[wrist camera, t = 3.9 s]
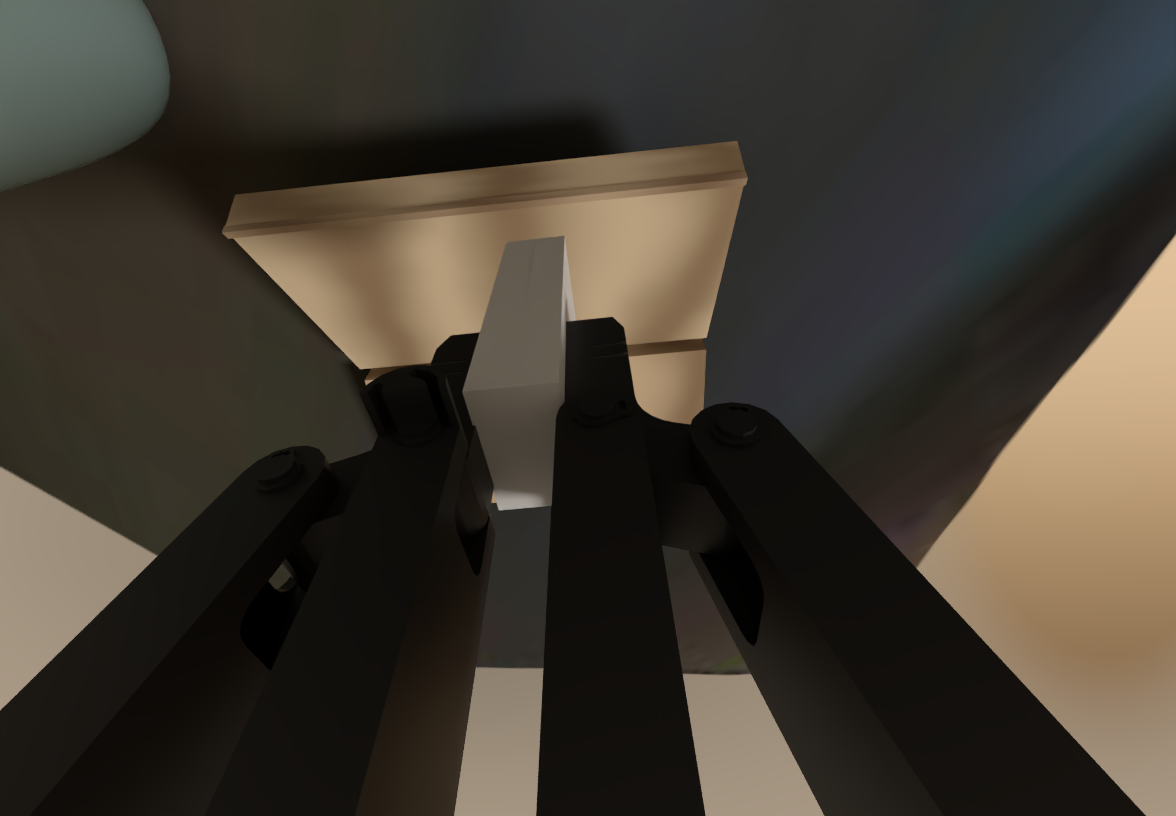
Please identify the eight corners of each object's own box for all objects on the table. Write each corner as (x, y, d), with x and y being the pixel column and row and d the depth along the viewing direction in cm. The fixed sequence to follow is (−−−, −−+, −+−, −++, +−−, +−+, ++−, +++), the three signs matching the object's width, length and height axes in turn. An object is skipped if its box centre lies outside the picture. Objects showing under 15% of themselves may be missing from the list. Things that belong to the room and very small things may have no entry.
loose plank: (364, 342, 28) (359, 372, 27) (234, 193, 19) (221, 232, 18) (701, 310, 27) (707, 341, 26) (737, 139, 18) (747, 177, 17)
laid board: (424, 490, 35) (419, 508, 33) (370, 354, 28) (360, 371, 27) (694, 468, 34) (699, 486, 33) (700, 324, 28) (706, 339, 26)
